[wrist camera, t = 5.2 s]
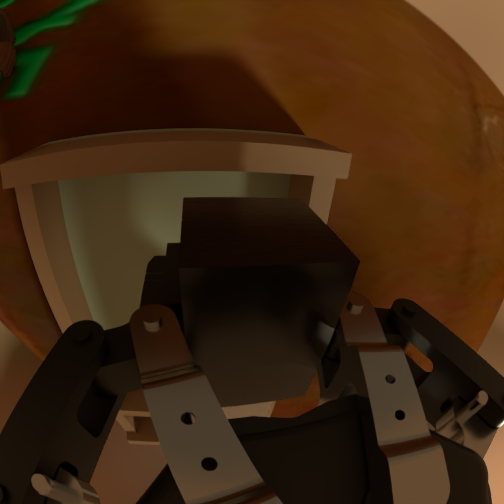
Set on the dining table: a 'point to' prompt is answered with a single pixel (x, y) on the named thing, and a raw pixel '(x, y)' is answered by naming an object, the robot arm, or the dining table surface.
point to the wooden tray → (145, 211)
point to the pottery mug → (6, 45)
